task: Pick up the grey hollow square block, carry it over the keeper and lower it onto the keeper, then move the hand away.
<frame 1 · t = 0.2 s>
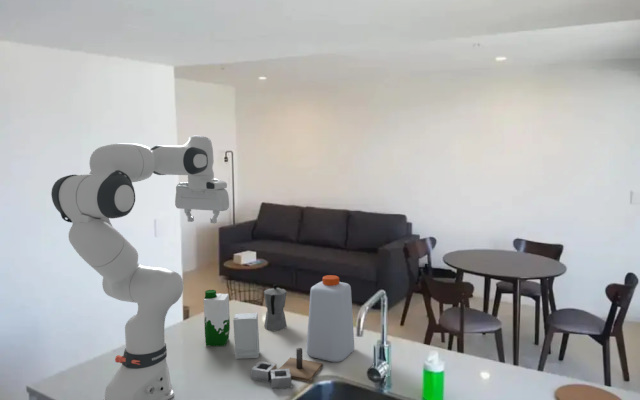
hand: (202, 222, 171), 47 cm above the countertop, fingers open, 8 cm apart
coffeepot: (275, 328, 199), on the countertop
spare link: (280, 384, 153), on the countertop, touching grey hollow square block
skincare box: (247, 356, 173), on the countertop
keeper: (299, 370, 162), on the countertop
plastic bottle: (330, 352, 176), on the countertop
milk carton: (217, 342, 185), on the countertop
grey hollow square block: (264, 376, 158), on the countertop, touching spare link
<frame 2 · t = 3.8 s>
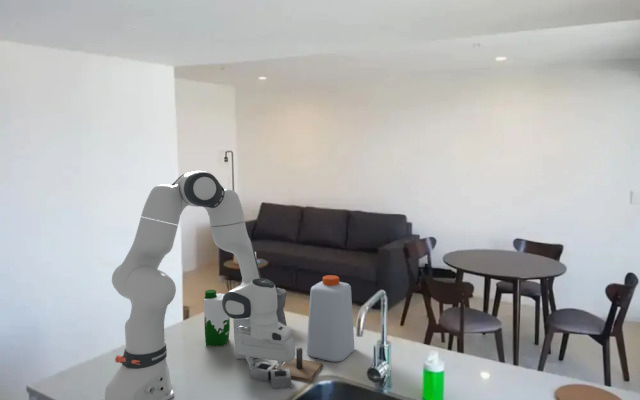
hand: (265, 370, 158), 2 cm above the countertop, fingers open, 8 cm apart
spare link: (280, 384, 153), on the countertop, touching gripper
grey hollow square block: (264, 376, 158), on the countertop
everything else where it was.
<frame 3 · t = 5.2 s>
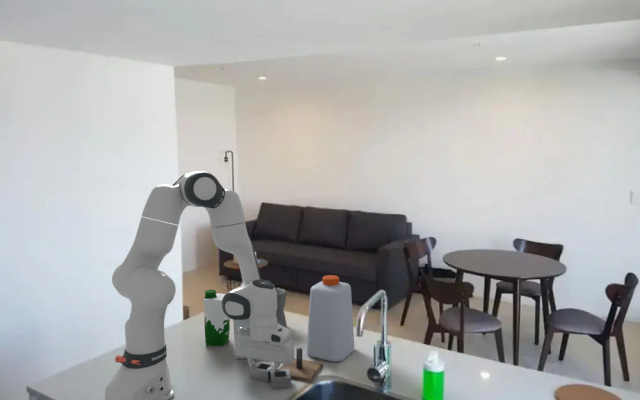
hand: (264, 371, 157), 2 cm above the countertop, fingers closed on grey hollow square block, 6 cm apart
grey hollow square block: (264, 376, 158), on the countertop, touching gripper
everything else where it was.
when the fingers open (4 cm above the countertop, at t = 9.8 s): grey hollow square block drops 1 cm, resting on keeper.
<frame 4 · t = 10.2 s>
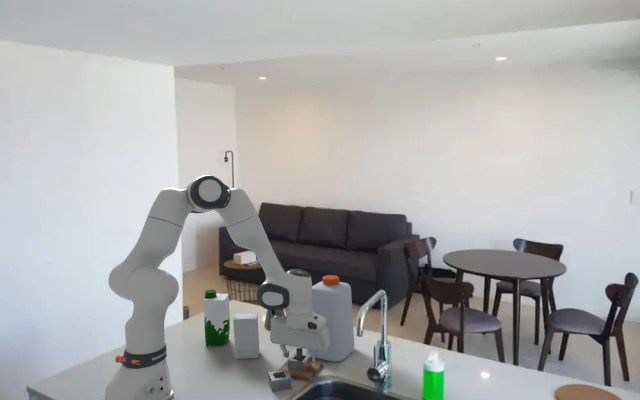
hand: (299, 358, 162), 4 cm above the countertop, fingers open, 8 cm apart
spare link: (279, 385, 152), on the countertop
grey hollow square block: (299, 367, 162), point 1 cm above the countertop, touching keeper
everything else where it was.
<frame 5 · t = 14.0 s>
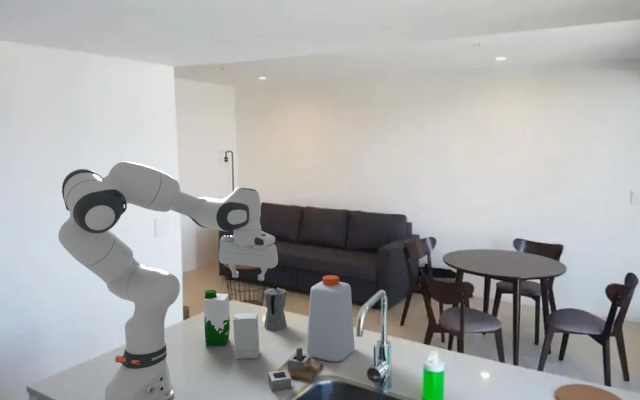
hand: (248, 278, 159), 31 cm above the countertop, fingers open, 8 cm apart
nothing on the countertop moved.
at the end: grey hollow square block 0.1 cm off-centre on the keeper, point 1.0 cm above the keeper's base; the gripper is holding nothing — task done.
